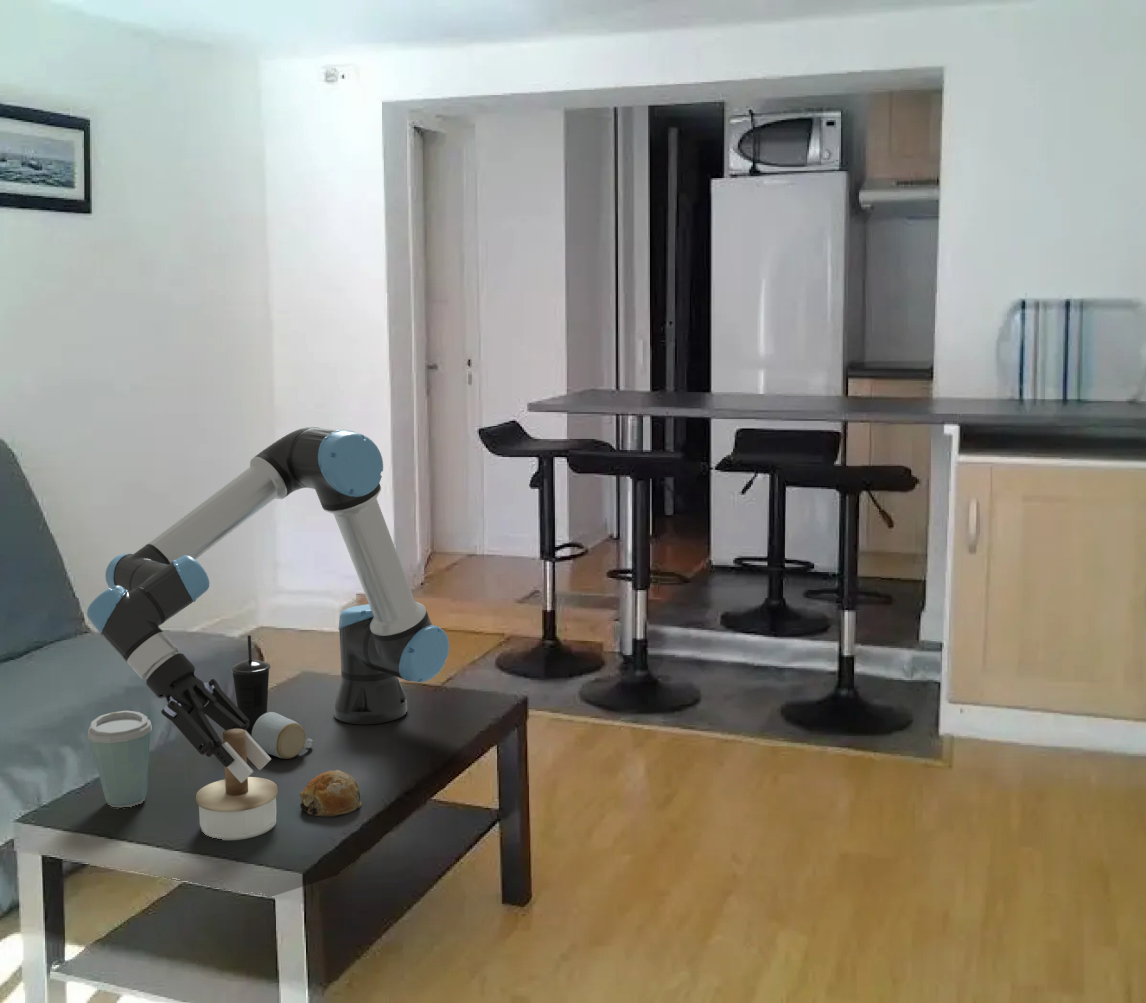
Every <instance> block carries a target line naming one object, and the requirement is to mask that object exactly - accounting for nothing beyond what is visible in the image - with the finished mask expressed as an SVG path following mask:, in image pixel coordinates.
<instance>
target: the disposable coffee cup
mask: <svg viewBox="0 0 1146 1003" xmlns="http://www.w3.org/2000/svg"><path fill="white" fill-rule="evenodd" d="M152 730H153V726H152V721H151V720H150V719H149V717H148V716H146V715H145V714H143V713H142V712H139V711H134V710H133V711H132V710H121V711H120V710H119V711H114V712H109V713H105V714H102V715H99V716H98V717H96V718H94V719H93V720H92V721H91V722H90V726H89V728H88V732H87V738H86V739H88V740H89V743H90V746H91V750H92V755H93V758H94V762H95V765H96V770H97V773H98V777H99V781H100V784H101V787H102V792H103V795H104V799H105V803H107V806H108V805H110V806H112V807H130V808H133V807H132V806H134V807H136V806H135V805H137V806H139V805H138V804H140V805H141V804H142V803H144V802H145V801H146V797H147V793H148V776H149V775H148V774H149V760H150V746H151V745H150V742H151V732H152ZM143 801H144V802H143ZM110 806H109V807H110ZM112 807H111V808H112Z"/></svg>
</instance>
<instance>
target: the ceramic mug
mask: <svg viewBox="0 0 1146 1003" xmlns="http://www.w3.org/2000/svg"><path fill="white" fill-rule="evenodd" d="M252 737H253V738H254V739H255V740H256V741H257V743H258V745H259V746H260V747H261V748H262V749H263V750H264V751H265V752H266V753H267V755H271V756H274V757H277V758H279V759H285V760H289V759H292V758H295V757H297V755H299V754H300V753H301V751H302V750H303V748H304V749H311V748H312V745H313V739H311V738H308V737H307V736H306V731H305V728H304V727H303V726H302V725H301V724H300V723H298V722H297V721H295V720H293V719H290V718H287V717H286V716H284V715H281V714H280V713H277V712H274V711H269V712H268V711H267V713H265V714H263V715H262V716H260V717H259V718H258V720H257V721H256V722H255V724H254V726H253V729H252Z"/></svg>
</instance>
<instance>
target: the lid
mask: <svg viewBox="0 0 1146 1003" xmlns="http://www.w3.org/2000/svg"><path fill="white" fill-rule="evenodd" d="M225 742H228V744H229V745H230V746H231V747H232V748H233V749H234V750H235V751H236V752H237V754H238V755H239V756H240V757H241V758H242V759H243V760H244V761H245V762H246V764H247V765H248V760H247V759H248V757H247V755H246V735H245V730H243V729H235V728H234V729H229V730H223V732H222V745H223V744H224V743H225ZM223 767H224V779H220V780H217V781H214V782H211V783H208V784H206V785H205V786H203V787H201V788H200V789H199V790H198V791H197V792H196V795H195V802H196V804H197V806H198V807H199V806H200V807H202V808H204V809H207V810H210V811H217V812H235V811H244V810H249V809H253V808H257V807H260V806H263V805H265V804H267V803H269V802H271V801H272V800H273V799H274V798H276V799H277V796H278V794H279V793H278V792H279V791H278V790H279V789H278V785H277V783H276V782H274V781H272V780H271V779H268V778H262V777H258V776H257V777H256V776H249V777H248V778H247V779H246V780H245V781H244V782H242V783H240V781H239V780H238V779H237V778H236V777H235V776H234V775H233V774H232V772H231V771H230V770H229V769H228V768H227V767H225V766H224V765H223Z"/></svg>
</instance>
